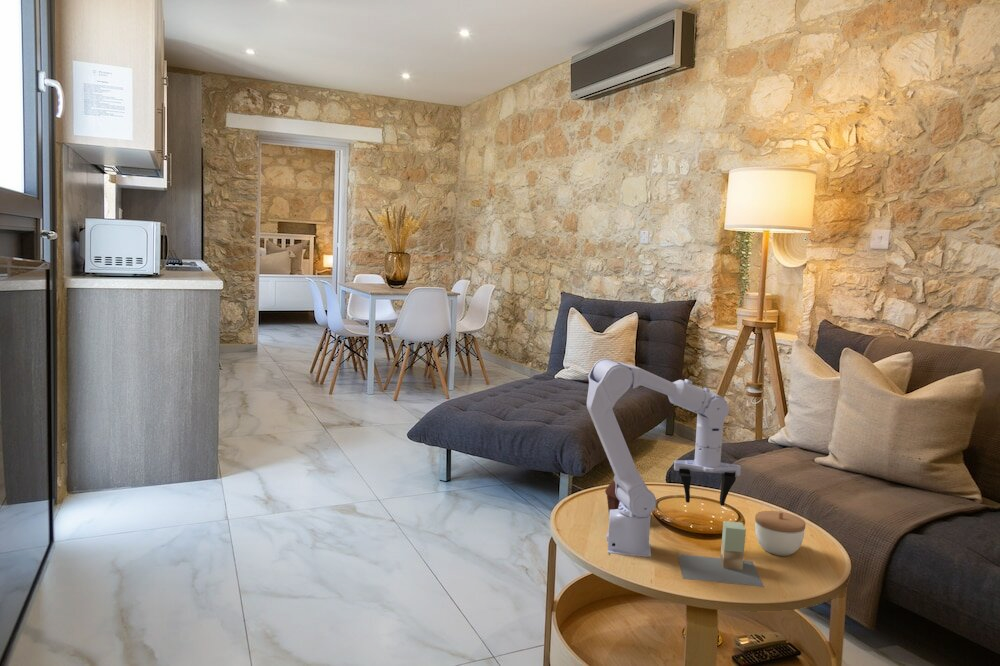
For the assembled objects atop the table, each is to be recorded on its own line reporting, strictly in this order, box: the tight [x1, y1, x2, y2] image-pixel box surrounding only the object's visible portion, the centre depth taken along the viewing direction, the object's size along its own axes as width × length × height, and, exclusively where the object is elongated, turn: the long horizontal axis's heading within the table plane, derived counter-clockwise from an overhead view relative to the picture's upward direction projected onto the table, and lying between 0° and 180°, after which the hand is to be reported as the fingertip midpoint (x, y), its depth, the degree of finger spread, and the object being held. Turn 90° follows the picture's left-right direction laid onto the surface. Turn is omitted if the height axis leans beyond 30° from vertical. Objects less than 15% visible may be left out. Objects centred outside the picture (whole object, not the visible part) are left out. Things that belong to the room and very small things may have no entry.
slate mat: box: [677, 553, 765, 588], centre depth 148 cm, size 16×12×1 cm
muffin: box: [604, 480, 620, 513], centre depth 177 cm, size 12×11×10 cm
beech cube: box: [719, 543, 745, 570], centre depth 150 cm, size 4×4×4 cm
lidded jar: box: [754, 510, 806, 557], centre depth 159 cm, size 11×11×9 cm
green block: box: [721, 520, 746, 553], centre depth 150 cm, size 4×4×5 cm
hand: (704, 502), depth 160 cm, fingers open, 7 cm apart
